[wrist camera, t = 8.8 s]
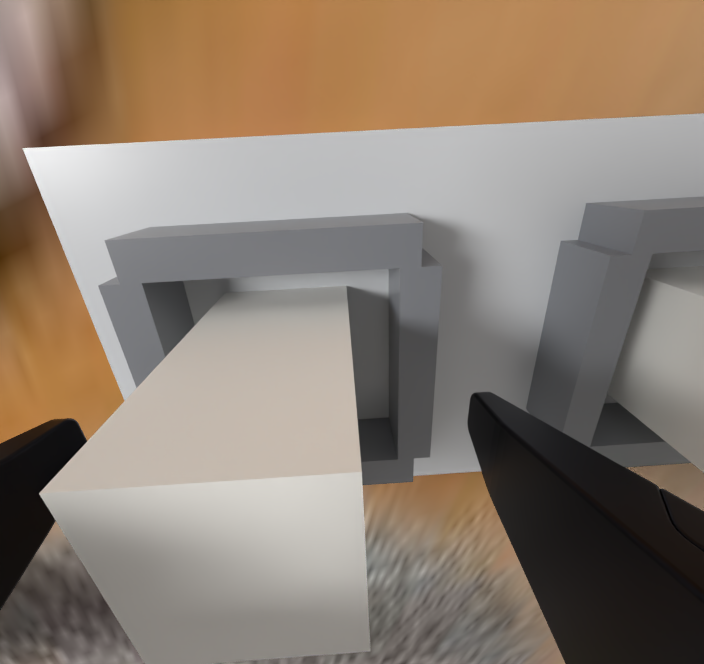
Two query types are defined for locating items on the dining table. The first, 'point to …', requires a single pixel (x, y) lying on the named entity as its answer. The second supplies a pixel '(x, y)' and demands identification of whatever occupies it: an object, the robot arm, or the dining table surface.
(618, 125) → the housing
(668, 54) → the dining table surface
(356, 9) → the dining table surface
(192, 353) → the cream rectangular block
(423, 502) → the dining table surface
